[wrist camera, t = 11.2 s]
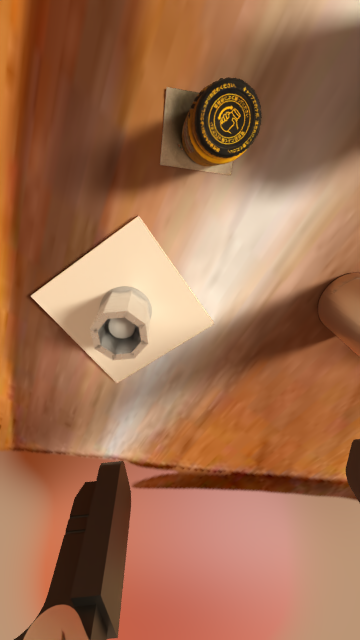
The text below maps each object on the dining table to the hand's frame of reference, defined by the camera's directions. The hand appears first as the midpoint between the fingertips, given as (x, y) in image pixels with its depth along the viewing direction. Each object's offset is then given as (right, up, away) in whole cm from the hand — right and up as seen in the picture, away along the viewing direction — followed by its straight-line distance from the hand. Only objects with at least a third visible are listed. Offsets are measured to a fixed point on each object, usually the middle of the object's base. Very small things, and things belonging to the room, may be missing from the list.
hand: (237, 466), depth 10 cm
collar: (-10, +6, +30) cm, 32 cm away
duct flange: (-10, +7, +31) cm, 34 cm away
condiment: (0, +26, +23) cm, 35 cm away
